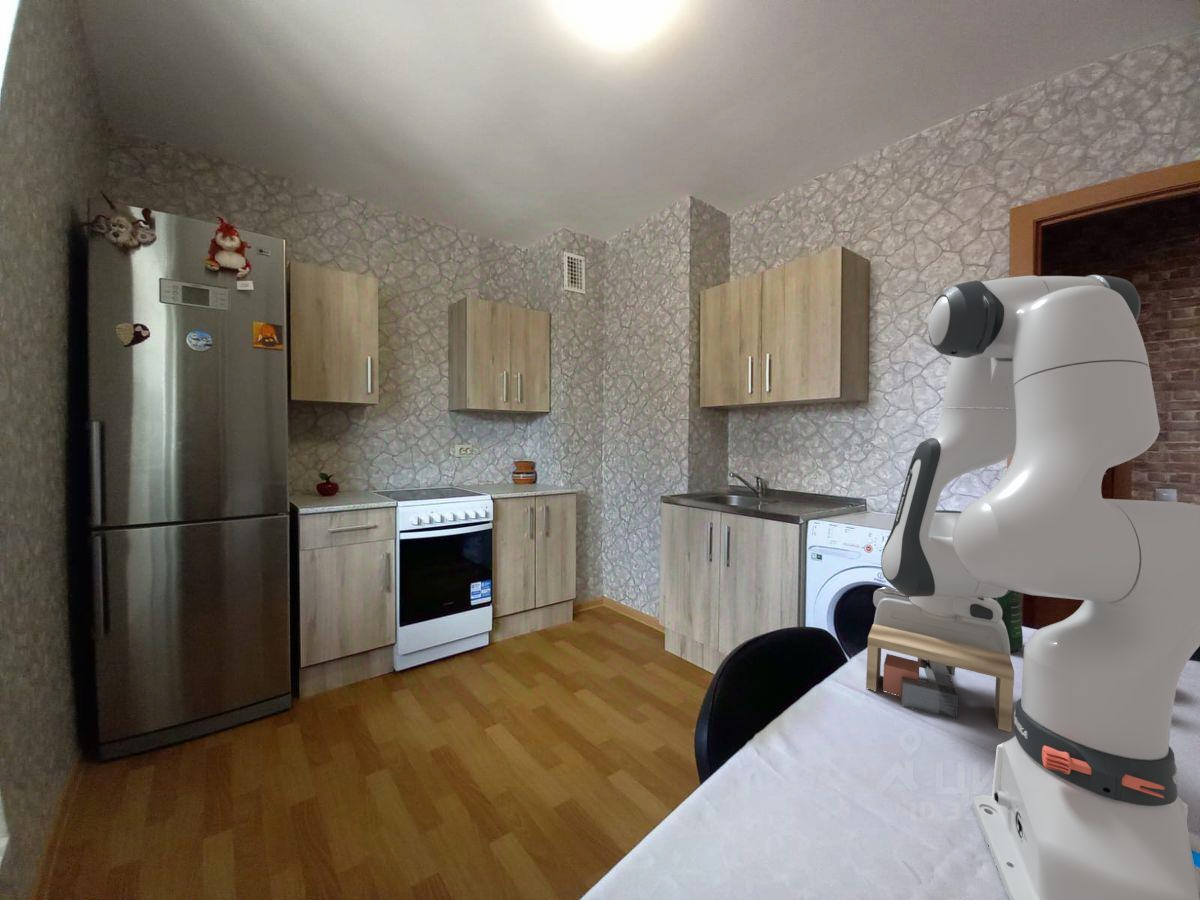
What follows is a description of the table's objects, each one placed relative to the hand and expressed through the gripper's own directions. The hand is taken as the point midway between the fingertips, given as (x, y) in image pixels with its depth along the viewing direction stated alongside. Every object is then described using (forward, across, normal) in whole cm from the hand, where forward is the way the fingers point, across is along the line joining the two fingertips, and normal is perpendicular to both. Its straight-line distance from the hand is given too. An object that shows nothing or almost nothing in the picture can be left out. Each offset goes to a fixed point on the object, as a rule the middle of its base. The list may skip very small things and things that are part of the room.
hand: (935, 670), depth 86 cm
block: (+2, -5, -8) cm, 9 cm away
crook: (+2, -2, -2) cm, 4 cm away
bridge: (+2, 0, -8) cm, 8 cm away
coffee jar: (+2, +10, +27) cm, 29 cm away
